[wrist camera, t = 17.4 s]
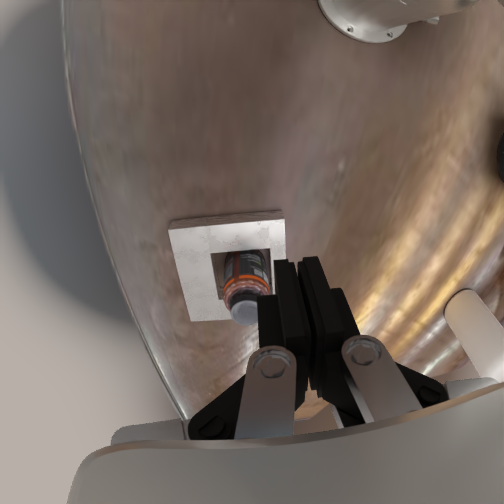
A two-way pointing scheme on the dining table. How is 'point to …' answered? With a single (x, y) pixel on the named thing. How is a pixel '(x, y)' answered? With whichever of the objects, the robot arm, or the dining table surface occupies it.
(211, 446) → the robot arm
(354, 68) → the dining table surface
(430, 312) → the dining table surface
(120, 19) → the dining table surface
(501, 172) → the lantern
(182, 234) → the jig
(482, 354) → the alcohol
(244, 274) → the supplement bottle
